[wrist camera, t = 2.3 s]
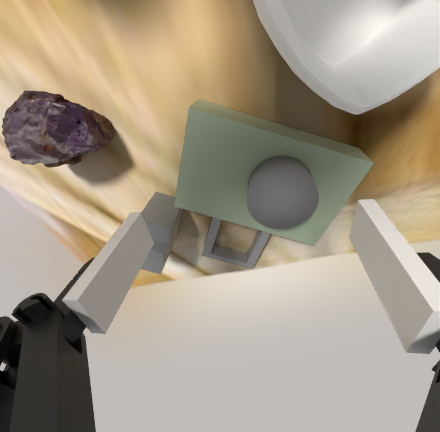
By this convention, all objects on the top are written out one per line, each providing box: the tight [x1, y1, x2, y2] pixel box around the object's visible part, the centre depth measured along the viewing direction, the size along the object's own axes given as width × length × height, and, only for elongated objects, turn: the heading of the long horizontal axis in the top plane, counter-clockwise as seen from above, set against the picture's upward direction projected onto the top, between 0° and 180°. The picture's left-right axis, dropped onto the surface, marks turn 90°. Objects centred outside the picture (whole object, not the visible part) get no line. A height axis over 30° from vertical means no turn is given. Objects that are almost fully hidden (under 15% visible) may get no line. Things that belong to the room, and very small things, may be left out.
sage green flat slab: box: [174, 99, 374, 269], centre depth 34 cm, size 22×26×9 cm
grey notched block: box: [140, 192, 183, 274], centre depth 37 cm, size 5×8×10 cm, turn 166°
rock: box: [2, 91, 114, 167], centre depth 30 cm, size 12×9×10 cm
